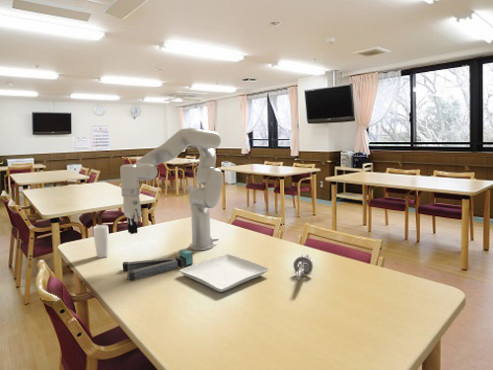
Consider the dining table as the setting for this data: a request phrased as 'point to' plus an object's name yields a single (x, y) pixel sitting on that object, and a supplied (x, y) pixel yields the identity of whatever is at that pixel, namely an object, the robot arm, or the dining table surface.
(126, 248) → the dining table surface
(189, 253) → the teal rectangular block
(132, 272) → the tongs frame
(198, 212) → the robot arm
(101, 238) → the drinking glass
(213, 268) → the square plate
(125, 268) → the bar
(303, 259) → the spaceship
